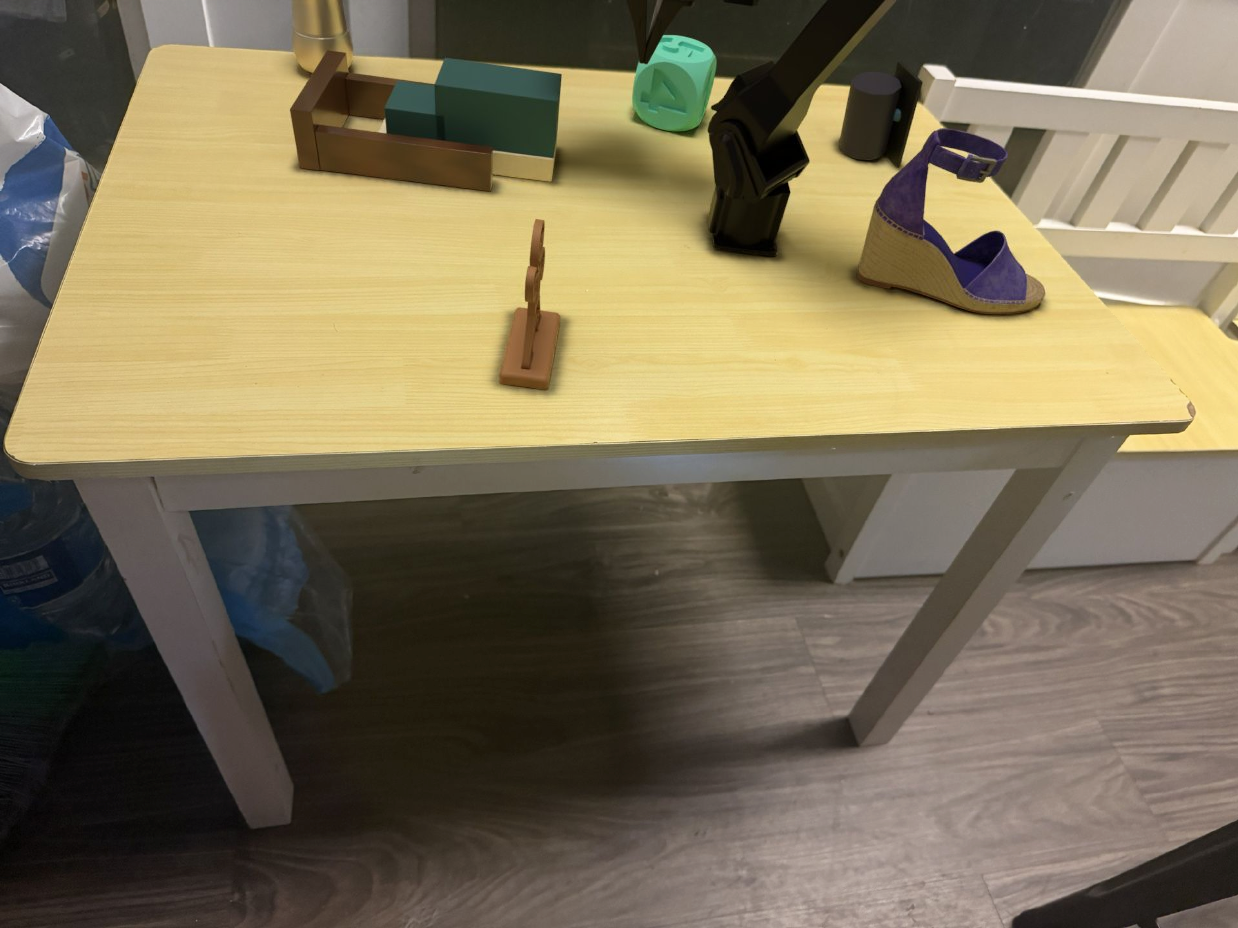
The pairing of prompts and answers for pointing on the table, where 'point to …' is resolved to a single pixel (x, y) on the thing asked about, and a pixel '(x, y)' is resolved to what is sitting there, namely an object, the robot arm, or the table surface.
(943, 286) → the sandal
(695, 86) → the decorative dice
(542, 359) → the gingerbread man figurine
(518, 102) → the teal stepped block
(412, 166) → the wooden bed frame
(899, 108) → the speaker
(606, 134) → the table surface
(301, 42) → the gold rounded cylinder
